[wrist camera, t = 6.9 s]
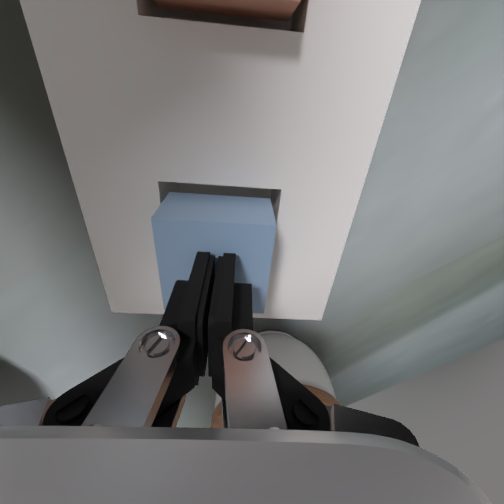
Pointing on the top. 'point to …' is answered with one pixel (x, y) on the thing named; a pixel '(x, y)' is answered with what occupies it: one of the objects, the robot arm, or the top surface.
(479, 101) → the top surface
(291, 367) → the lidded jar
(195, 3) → the terracotta key
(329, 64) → the key panel
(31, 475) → the robot arm
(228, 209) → the slate-blue key
